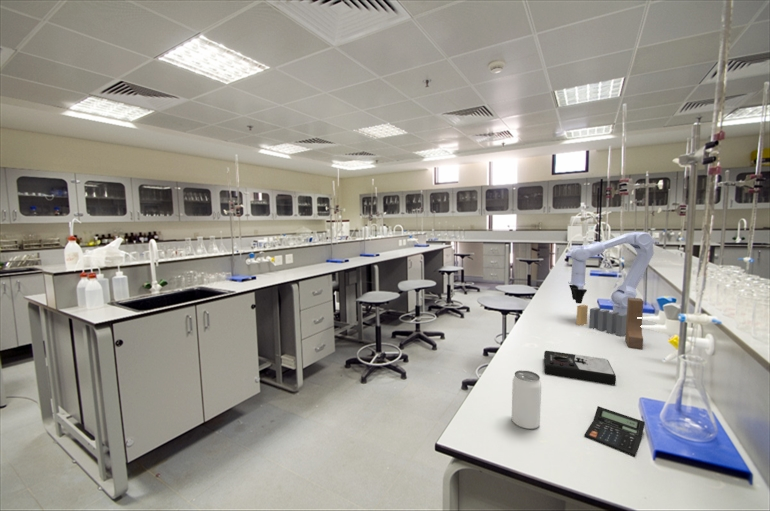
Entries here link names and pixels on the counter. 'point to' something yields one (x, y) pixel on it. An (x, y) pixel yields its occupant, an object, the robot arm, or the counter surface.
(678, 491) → the counter surface
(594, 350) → the counter surface
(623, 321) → the slate domino
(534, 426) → the can
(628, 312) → the wooden block
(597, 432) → the calculator
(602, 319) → the slate domino
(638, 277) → the robot arm
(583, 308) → the ochre domino
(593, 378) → the multimeter
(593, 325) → the slate domino
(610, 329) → the slate domino
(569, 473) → the counter surface
